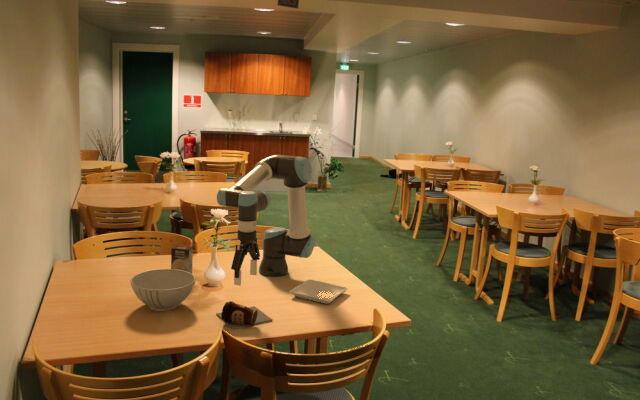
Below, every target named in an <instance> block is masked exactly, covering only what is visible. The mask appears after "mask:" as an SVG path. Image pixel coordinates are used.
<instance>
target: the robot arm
mask: <svg viewBox="0 0 640 400" xmlns="http://www.w3.org/2000/svg"><path fill="white" fill-rule="evenodd" d="M312 167H313V166H312V164H311V162H310V160H309V159H308V158H307V157H303V156H299V155H298V156H296V155H286V154H273V155H270V156H267V157H265V158H263V159H261V160H259V161H258V162H257V163H255V165H254V166H253V168H252V170H250V171H249V172H248V173H246V174H245V175H244V176H243V177H241V178H240V179H239V180H238V181H236V182H235V183H234V184H232V186H230V187H229V188H227V187H225V188H224V187H223V188H220V189H219V190H218V191H217V194H216V202H217V204H218V205H219V206H221V207H226V208H227V207H229V208H236V209H237V211H238V212H237V238H236V239H237V240H238V241H240V242H239V243H240V244H235V251H234V255H233V259H232V263H231V267H230V270H233V271H234V272H233V273H234V274H233V280H234V281H233V284H234V286H239V287H240V286H242V265H243V262H244V259H245V258H246V257H245V256H247V255H248V254H249V255H250V262H249V263H250V271H249V275H252V276H257V275H258V272H259V274H261V275H263V276H265V277H283V276H286V275H288V274H289V267H288V263H287V260H286V256H291V257H297V258H300V259H301V258H302V259H303V258H304V259H308V258H310V257H311V256H312V253H313V251H314V248H315V243H316V238H315V236H314V235H312V234H311V230H310V228H308V220H307V217H308V215H307V204H306V203H307V202H306V198H307V197H306V186H307V185H308V183H309V182H310V181H311V180H312V179H311V178H312V173H313V168H312ZM271 179H273V180H274V179H275V180H276V179H278V180H283V185H284V187H286V190H287V205H288V215H289V216H288V217H289V229H288V230H287V228H286V227H272V228H268V229H266V230H265V231H263V242H262V243H263V246H262V258H261V254H260V248H259V245H258V238H257V225H258V223H257V220H258V219H257V218H258V213H259V212H262V211H263V210H266V209H267V208H268V207H269V206H270V205H271V202H272V199H271V198H272V197H271V196H270V194H269V193H268V192H267V191H264V190H263V191H256V192H255V190H256V189H257V188H258V187H259V186H260V185H262V184H263V183H264V182H267V181H269V180H271ZM260 258H261V261H260ZM258 261H260V265H259V267H258Z"/></svg>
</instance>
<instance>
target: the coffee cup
mask: <svg viewBox="0 0 640 400" xmlns="http://www.w3.org/2000/svg"><path fill="white" fill-rule="evenodd" d="M248 307H249V306H246V305H242V304H239V303H236V302H234V301H233V300H230V301H226V302H225V303H224V305H223V307H222V310H221V311H222V315H221V316H222V317H221V318H222V319H221V321H223V320H224V321H225V322H232V323H236V324H243V325H245V324H250V325H251V326H255V325H254V324H255V322H256V319H257V314H258V312H257V310H253V309H250V308H248ZM224 321H223V322H224ZM225 322H224V323H225Z"/></svg>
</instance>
